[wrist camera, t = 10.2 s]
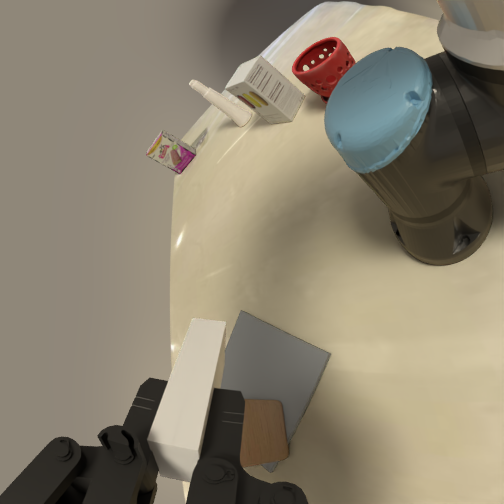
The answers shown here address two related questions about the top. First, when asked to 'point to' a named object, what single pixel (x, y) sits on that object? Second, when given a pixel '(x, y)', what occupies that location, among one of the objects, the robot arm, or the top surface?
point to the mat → (272, 368)
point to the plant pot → (323, 66)
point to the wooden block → (263, 433)
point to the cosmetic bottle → (223, 103)
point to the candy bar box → (171, 152)
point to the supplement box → (266, 91)
